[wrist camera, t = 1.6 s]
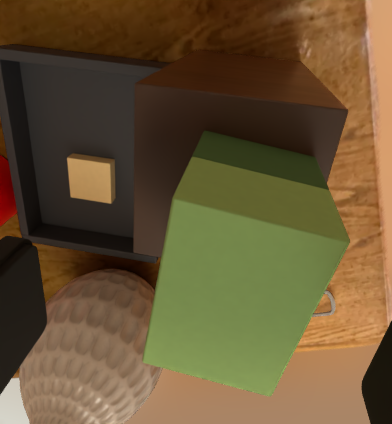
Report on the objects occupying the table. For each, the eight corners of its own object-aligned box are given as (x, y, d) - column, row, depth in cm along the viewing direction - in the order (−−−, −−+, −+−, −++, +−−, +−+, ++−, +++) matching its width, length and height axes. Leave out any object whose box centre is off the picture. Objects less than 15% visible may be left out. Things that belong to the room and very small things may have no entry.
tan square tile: (72, 153, 33) (66, 157, 31) (115, 159, 32) (110, 163, 31) (75, 192, 34) (70, 197, 33) (115, 198, 34) (111, 203, 33)
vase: (198, 321, 41) (165, 487, 27) (105, 339, 45) (33, 491, 31) (150, 231, 36) (78, 374, 22) (50, 260, 40) (-67, 398, 26)
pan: (12, 44, 29) (-13, 46, 27) (173, 63, 28) (165, 68, 25) (38, 225, 38) (22, 241, 35) (163, 245, 37) (156, 264, 34)
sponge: (204, 129, 14) (172, 196, 9) (316, 156, 14) (352, 241, 9) (176, 258, 17) (141, 363, 12) (267, 281, 17) (271, 398, 12)
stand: (196, 49, 27) (134, 82, 13) (301, 61, 27) (349, 110, 13) (188, 148, 31) (132, 253, 17) (279, 161, 31) (297, 281, 17)
